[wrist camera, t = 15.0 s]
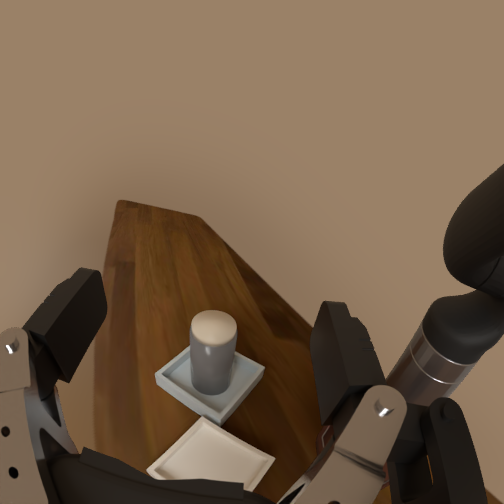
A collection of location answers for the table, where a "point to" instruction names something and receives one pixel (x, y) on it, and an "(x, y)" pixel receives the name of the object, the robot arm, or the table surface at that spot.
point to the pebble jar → (212, 351)
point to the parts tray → (212, 458)
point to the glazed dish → (210, 406)
